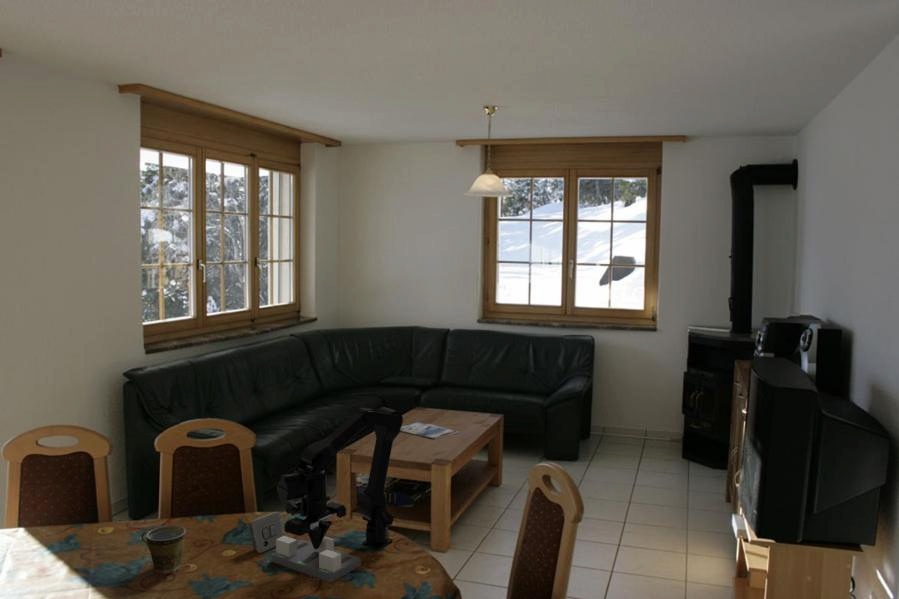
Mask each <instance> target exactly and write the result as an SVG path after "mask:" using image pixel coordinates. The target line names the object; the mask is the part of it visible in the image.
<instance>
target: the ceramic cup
mask: <svg viewBox="0 0 899 599" xmlns="http://www.w3.org/2000/svg"><path fill="white" fill-rule="evenodd" d="M186 532H187V531H186V528H184V527H183V526H180V525H164V526H159V527H155V528H154V529H151V530H150V531H148V530H146V531H143V532H142V534H141V540H142V541H143V542H144V544H145V545H147V548H148V550H149V553H150V557H151V561H152V565H153V570H154V573H155V574H162V575H165V574H166V575H167V574H171V573H175V572H176V570H177V571H178V570H180V568H181V564H182V559H183V558H182V556H183V550H184V546H185V540H186ZM144 535H145V537H144Z"/></svg>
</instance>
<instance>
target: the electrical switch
mask: <svg viewBox="0 0 899 599" xmlns="http://www.w3.org/2000/svg"><path fill="white" fill-rule="evenodd" d="M248 529H249V534H250V539H251V545H252V550H253V551H254V550H255V551H256V552H257V553H258V554H261V553H264V552H266V551H268V550H271V549H273V548H276V539H278V538H280V537H282V536H285V535H284V530H283V529H284V528H283V525H282V520H281V515H280V512H278V511H274V512H271V513H269V514H266V515H263V516H260V517H258V518H255V519H253V520H252V521H250V522H248Z"/></svg>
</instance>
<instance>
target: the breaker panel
mask: <svg viewBox="0 0 899 599" xmlns="http://www.w3.org/2000/svg"><path fill="white" fill-rule="evenodd" d="M275 548H276V549H275V550H276V552H273V553H271V554H270V561H271V562H272V563H275V564H277V565H279V566H280V565H281V566H283V567H286V568H289V569H291V570H293V571H296V572H300V573H303V574H305V575H308V576H312V577H314V578H318V579H319V580H323V581H326V582H328V583H333V582H334V581H336V580H338V579H340V578H341V577H343V576H345V575H347V574H348V573H350V572H352V571H354V570H355V569H357V568H360V567H361V565H362V559H361V557H359V556H355V555H353V554H348V553H345V552H343V551H339V550H337V549H334V551H330V550H325V551H323V552H321V553H318V552H315V551H313V545H312V542H311V541H308V540H305V539H300V540H298V539H295V538H293V537H290V536H286V535H284V536H282V537H280V538H278V539H276V547H275Z"/></svg>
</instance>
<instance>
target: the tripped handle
mask: <svg viewBox="0 0 899 599" xmlns="http://www.w3.org/2000/svg"><path fill="white" fill-rule="evenodd" d="M325 550H330V551H334V550H335V539H334V538H332V537H329V536H326V535H325V536H324V538H323V540H322V542H321V544H320V546H319V548H318V549H314V547H313V551H315V552H318V553H321V552H323V551H325Z"/></svg>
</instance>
